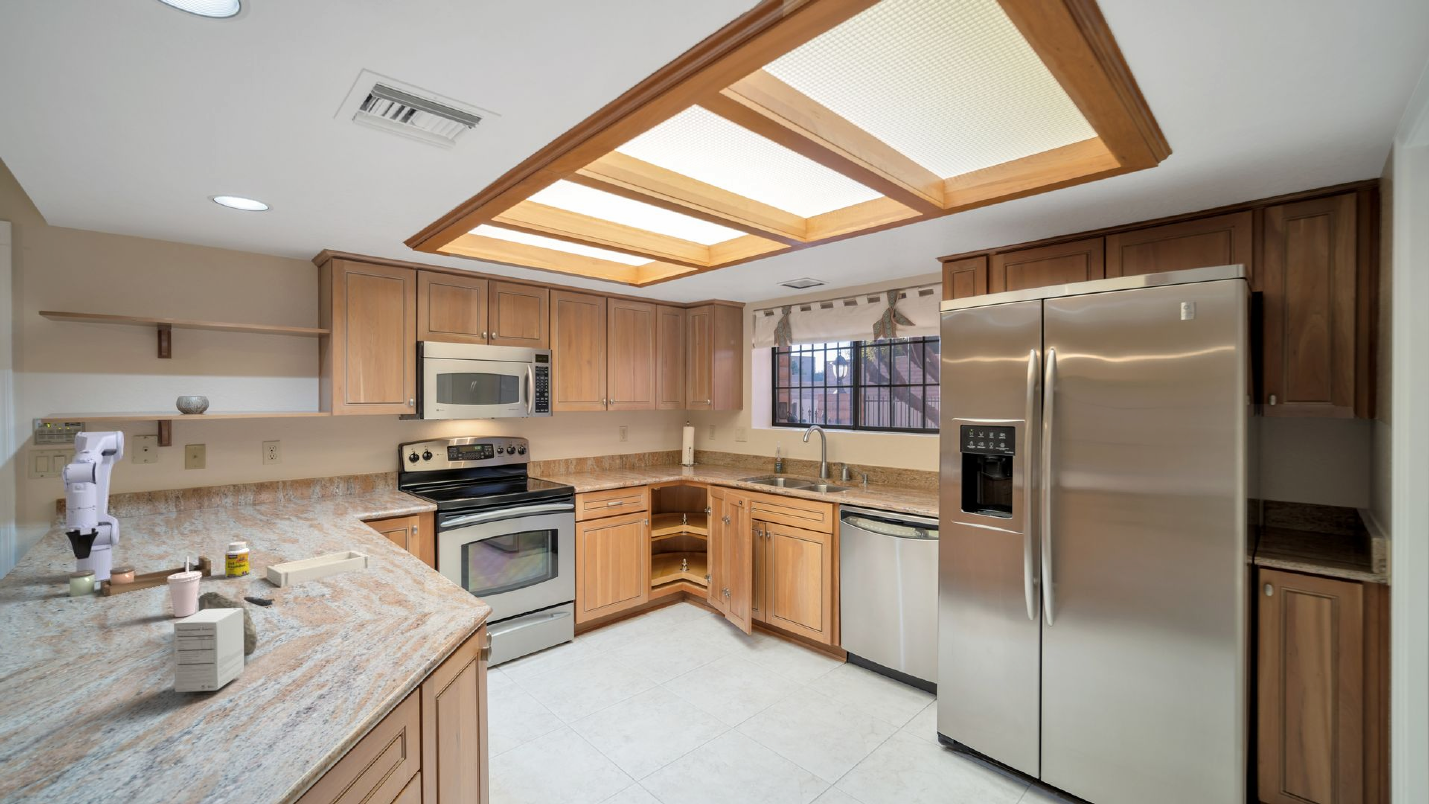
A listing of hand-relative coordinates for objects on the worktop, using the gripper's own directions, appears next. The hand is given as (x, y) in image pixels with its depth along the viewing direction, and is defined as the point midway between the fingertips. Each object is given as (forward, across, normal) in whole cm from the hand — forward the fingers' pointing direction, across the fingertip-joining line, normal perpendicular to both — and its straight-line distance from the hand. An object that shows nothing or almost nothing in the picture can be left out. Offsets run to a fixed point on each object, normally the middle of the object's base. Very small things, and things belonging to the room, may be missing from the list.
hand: (82, 557), depth 160 cm
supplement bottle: (+10, +15, +30) cm, 35 cm away
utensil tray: (+10, +31, +46) cm, 56 cm away
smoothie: (+10, +42, +13) cm, 45 cm away
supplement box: (+10, +92, +7) cm, 93 cm away
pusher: (+10, +4, +21) cm, 23 cm away
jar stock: (+10, +4, +7) cm, 13 cm away
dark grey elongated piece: (+15, +43, +26) cm, 52 cm away
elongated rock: (+10, +73, +14) cm, 75 cm away
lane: (+10, +4, +14) cm, 18 cm away
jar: (+10, 0, 0) cm, 10 cm away
